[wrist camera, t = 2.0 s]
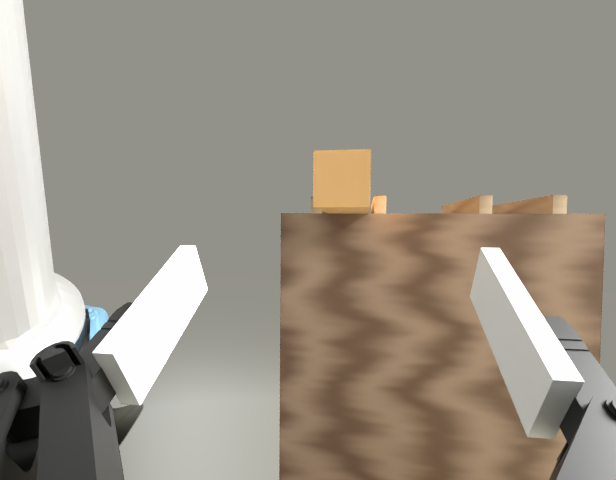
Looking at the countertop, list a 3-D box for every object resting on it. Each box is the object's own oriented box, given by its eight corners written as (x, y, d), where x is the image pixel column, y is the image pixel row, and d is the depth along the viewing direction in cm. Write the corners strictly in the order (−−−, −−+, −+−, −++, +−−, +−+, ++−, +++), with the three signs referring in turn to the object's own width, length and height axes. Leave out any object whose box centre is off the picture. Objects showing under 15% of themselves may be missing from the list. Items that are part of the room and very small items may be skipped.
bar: (313, 207, 22) (313, 150, 21) (339, 218, 45) (340, 191, 45) (369, 207, 21) (371, 149, 21) (366, 218, 45) (367, 191, 45)
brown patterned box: (279, 536, 32) (281, 196, 31) (304, 443, 46) (306, 206, 45) (591, 584, 28) (606, 194, 27) (516, 466, 42) (524, 206, 41)
